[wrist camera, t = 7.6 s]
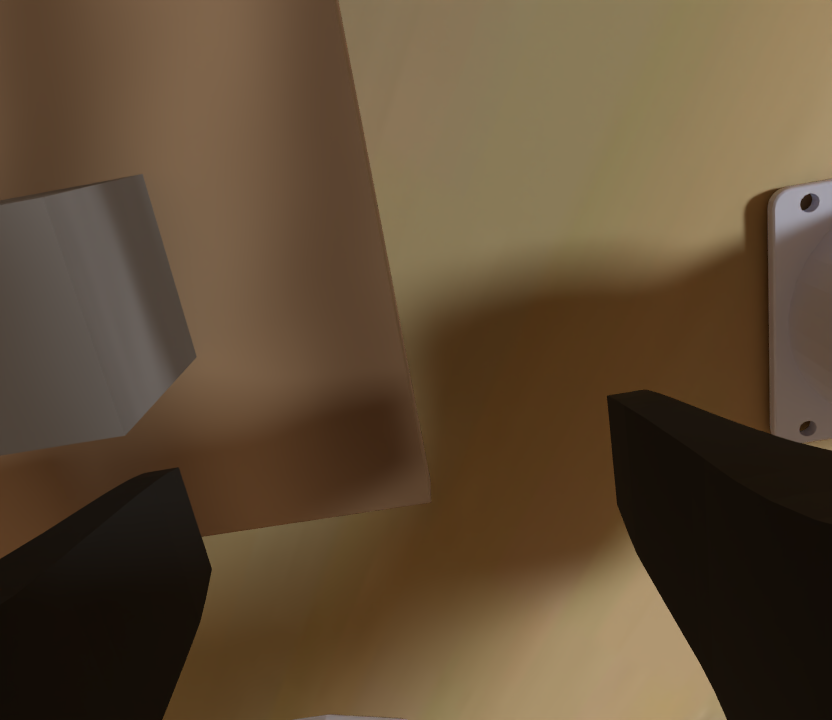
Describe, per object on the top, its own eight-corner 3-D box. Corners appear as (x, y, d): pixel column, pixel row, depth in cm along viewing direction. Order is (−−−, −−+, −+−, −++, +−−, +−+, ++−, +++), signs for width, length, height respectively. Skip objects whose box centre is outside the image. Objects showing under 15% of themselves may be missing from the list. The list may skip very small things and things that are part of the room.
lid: (316, -112, 14) (259, -229, 9) (430, 481, 18) (433, 615, 13) (-305, 20, 14) (-658, -23, 10) (-56, 555, 19) (-218, 705, 14)
